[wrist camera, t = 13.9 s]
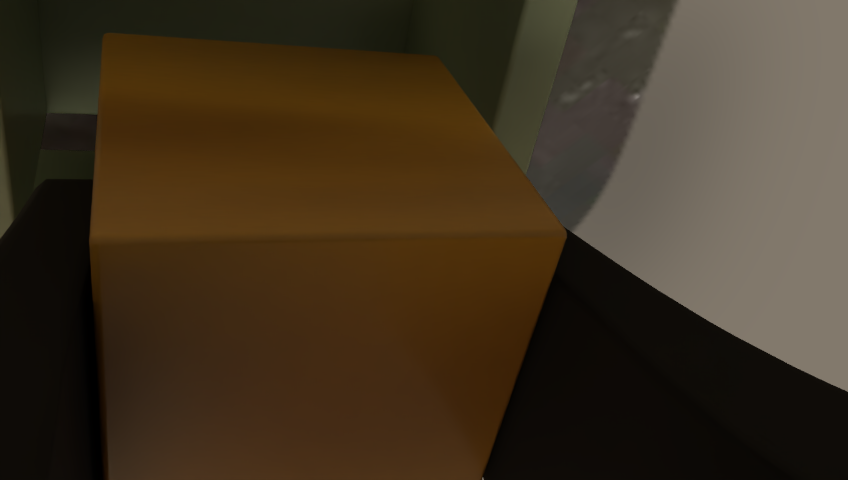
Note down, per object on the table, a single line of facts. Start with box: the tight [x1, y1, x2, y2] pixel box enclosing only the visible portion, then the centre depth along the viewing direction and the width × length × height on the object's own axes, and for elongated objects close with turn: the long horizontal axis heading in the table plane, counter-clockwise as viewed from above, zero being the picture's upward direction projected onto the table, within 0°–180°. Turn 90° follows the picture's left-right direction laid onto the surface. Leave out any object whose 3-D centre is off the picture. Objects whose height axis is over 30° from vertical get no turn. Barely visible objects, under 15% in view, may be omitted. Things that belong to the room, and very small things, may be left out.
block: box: [89, 33, 567, 480], centre depth 9 cm, size 4×4×4 cm
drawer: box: [0, 0, 578, 238], centre depth 13 cm, size 16×9×6 cm, turn 169°
